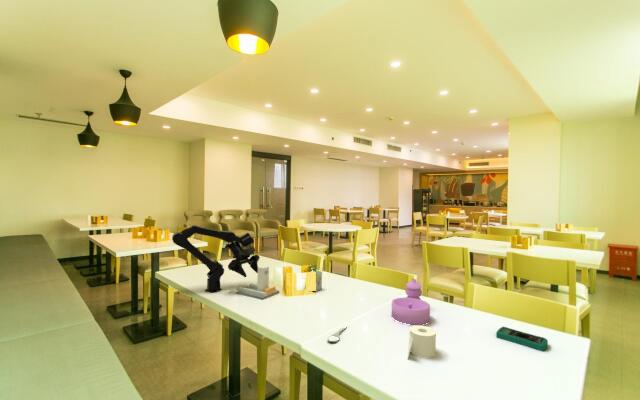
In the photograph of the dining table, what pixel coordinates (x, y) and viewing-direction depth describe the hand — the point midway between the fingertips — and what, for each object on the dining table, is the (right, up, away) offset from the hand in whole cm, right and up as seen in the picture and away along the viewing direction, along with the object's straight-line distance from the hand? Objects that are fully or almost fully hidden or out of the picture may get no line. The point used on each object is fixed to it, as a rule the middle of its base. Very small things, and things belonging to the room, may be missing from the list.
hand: (252, 274), depth 161 cm
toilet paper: (+68, -11, -61) cm, 92 cm away
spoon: (+43, -11, -47) cm, 65 cm away
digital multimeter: (+108, -12, -52) cm, 120 cm away
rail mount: (+3, -9, -2) cm, 10 cm away
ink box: (+33, -10, +5) cm, 35 cm away
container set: (+75, -11, -28) cm, 81 cm away
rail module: (+6, -8, -3) cm, 11 cm away
